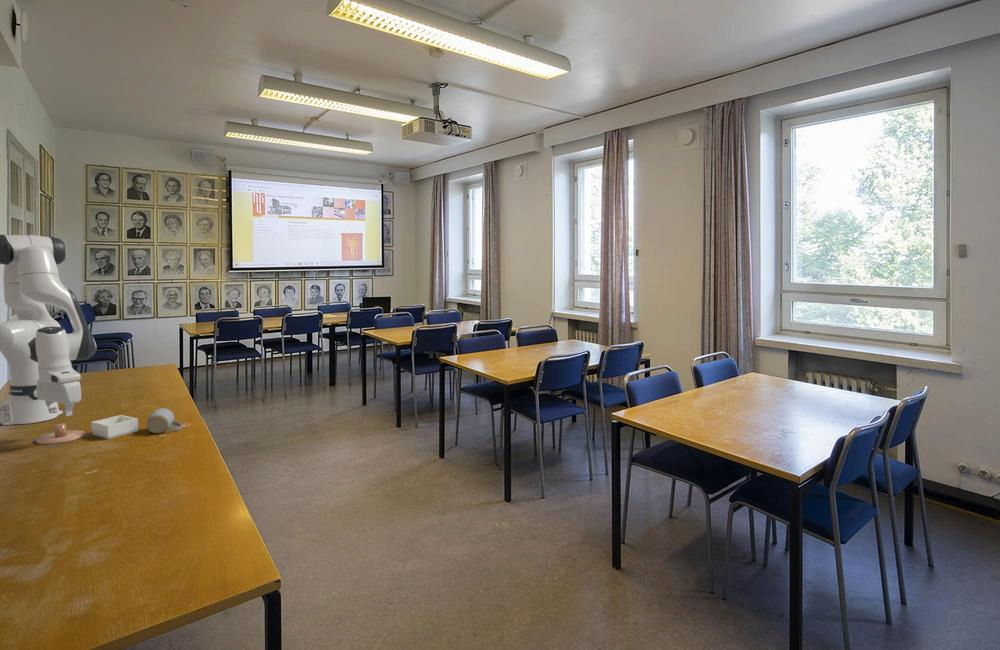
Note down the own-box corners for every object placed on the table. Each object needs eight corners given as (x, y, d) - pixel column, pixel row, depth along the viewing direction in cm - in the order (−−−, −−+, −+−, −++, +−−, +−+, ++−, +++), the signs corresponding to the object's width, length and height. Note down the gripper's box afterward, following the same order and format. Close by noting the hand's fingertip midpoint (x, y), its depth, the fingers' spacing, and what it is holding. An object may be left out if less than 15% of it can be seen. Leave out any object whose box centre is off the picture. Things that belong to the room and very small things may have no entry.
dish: (92, 435, 188) (91, 421, 187) (122, 428, 197) (121, 414, 196) (108, 440, 184) (107, 425, 183) (138, 432, 193) (137, 418, 192)
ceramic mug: (145, 435, 189) (144, 414, 188) (151, 428, 196) (150, 408, 196) (179, 433, 193) (179, 412, 192) (184, 426, 200) (183, 406, 199)
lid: (28, 440, 181) (26, 427, 180) (72, 430, 192) (71, 417, 192) (48, 446, 175) (47, 432, 174) (92, 435, 187) (91, 422, 186)
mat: (28, 441, 181) (28, 440, 181) (72, 431, 192) (72, 430, 192) (48, 448, 175) (48, 446, 175) (92, 436, 187) (92, 435, 187)
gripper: (28, 374, 182) (33, 413, 184) (61, 378, 174) (66, 419, 175) (50, 370, 188) (54, 408, 190) (83, 374, 179) (87, 414, 181)
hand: (60, 414), depth 182 cm, fingers open, 8 cm apart
